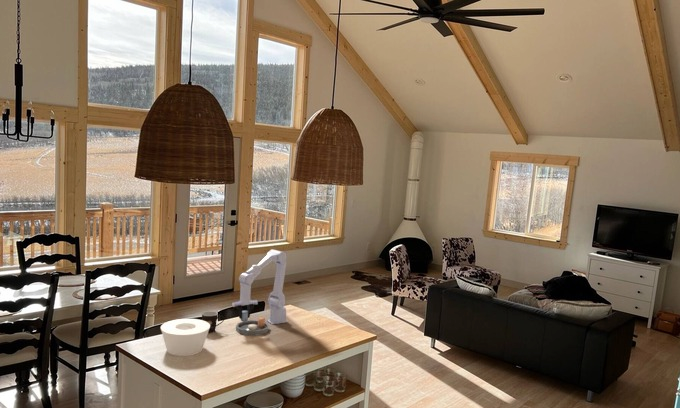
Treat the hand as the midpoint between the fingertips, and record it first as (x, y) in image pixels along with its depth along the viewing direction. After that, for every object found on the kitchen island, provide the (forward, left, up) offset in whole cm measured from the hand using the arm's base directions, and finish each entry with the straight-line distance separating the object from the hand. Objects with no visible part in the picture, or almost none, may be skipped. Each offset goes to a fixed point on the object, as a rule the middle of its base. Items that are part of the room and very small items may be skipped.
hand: (244, 317), depth 291 cm
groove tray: (-5, 0, -8) cm, 9 cm away
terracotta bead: (-11, 0, -7) cm, 13 cm away
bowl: (+37, +14, -8) cm, 40 cm away
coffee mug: (+17, -6, -8) cm, 19 cm away
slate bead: (0, 0, -1) cm, 1 cm away
